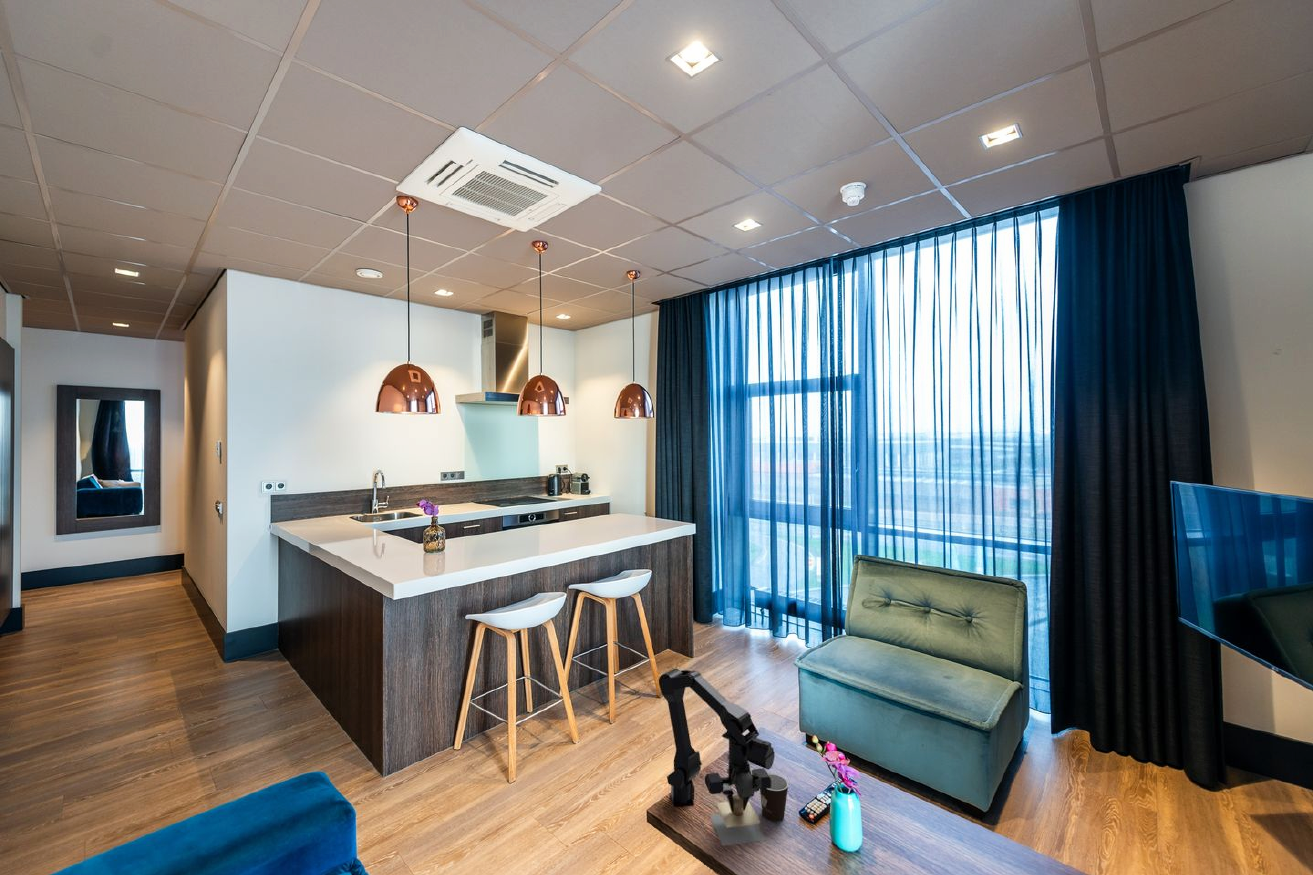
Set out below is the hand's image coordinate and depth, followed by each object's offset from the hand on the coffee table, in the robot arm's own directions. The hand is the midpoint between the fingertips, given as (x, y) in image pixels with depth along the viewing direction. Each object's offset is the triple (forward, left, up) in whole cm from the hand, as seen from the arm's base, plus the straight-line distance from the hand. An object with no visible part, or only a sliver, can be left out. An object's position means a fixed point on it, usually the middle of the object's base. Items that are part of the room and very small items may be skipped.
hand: (737, 810), depth 160 cm
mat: (0, 0, -5) cm, 5 cm away
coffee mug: (+13, +5, -5) cm, 15 cm away
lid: (0, 0, -1) cm, 1 cm away
